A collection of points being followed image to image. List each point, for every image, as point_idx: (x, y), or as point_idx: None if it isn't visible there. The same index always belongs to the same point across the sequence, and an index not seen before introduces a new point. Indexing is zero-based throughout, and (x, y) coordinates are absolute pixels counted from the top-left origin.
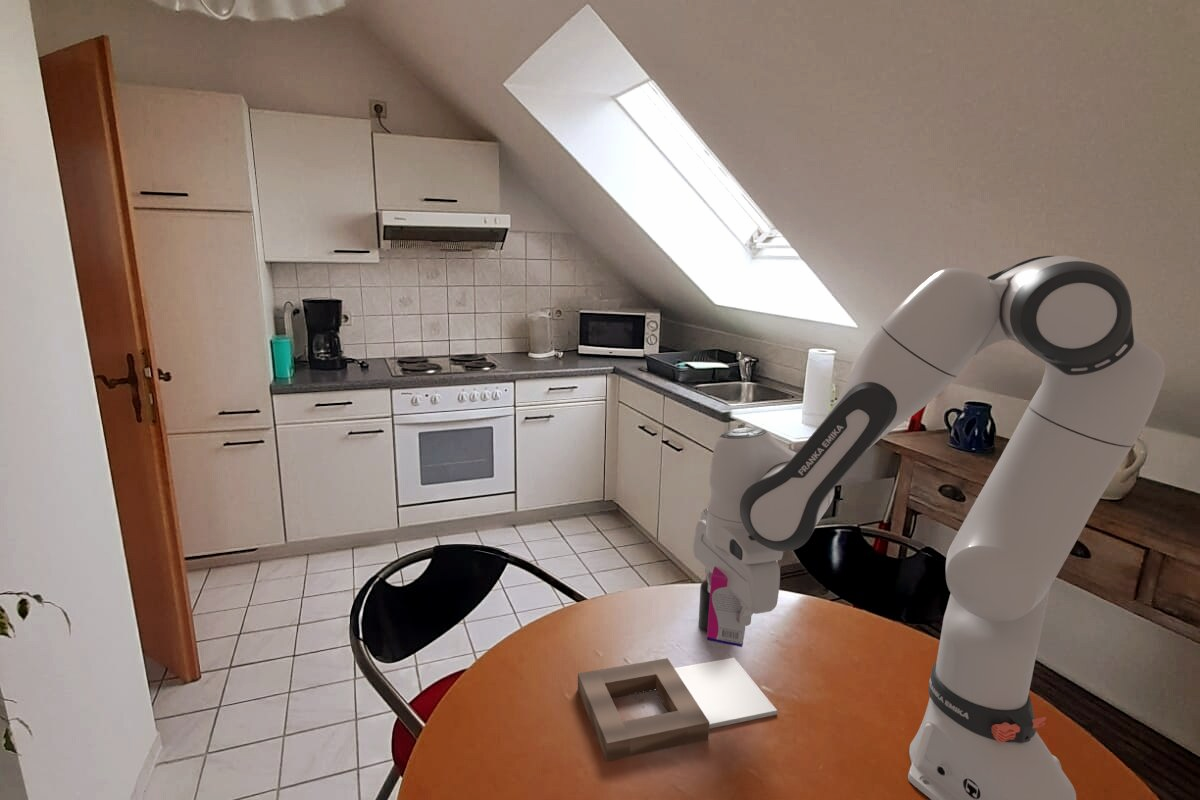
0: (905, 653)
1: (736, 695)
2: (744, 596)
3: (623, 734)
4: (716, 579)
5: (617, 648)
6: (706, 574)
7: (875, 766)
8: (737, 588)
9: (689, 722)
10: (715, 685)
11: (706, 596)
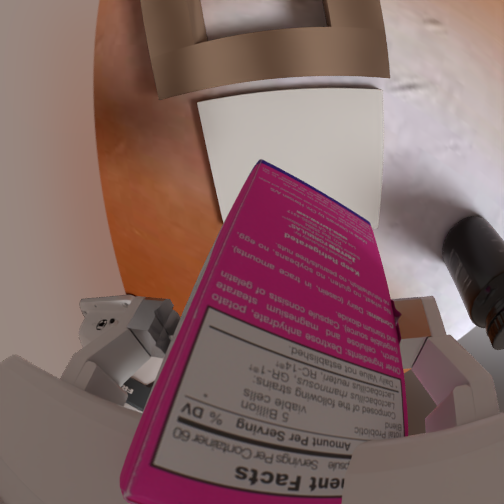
0: None
1: None
2: (17, 399)
3: None
4: (125, 465)
5: (469, 29)
6: (474, 367)
7: (146, 281)
8: (45, 428)
9: (160, 62)
10: (307, 155)
11: (500, 266)
